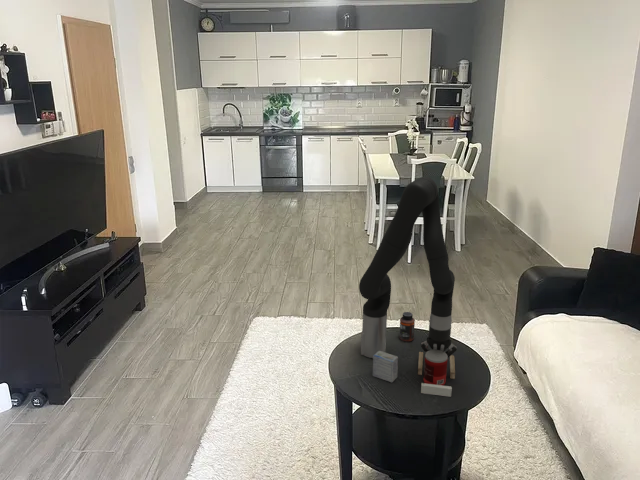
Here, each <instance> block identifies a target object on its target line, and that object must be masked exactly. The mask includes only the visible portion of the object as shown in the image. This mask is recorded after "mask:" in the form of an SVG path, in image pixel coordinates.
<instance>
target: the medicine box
mask: <svg viewBox="0 0 640 480" xmlns="http://www.w3.org/2000/svg"><path fill="white" fill-rule="evenodd" d="M398 366H399V357H398V355H394V354H391V353H388V352H386V351H385V352H382V351H378V352H377V353H376V354H375V355H374V356H373V358H372V377H375V378H378V379H380V380H383V381H386V382H390V383H393V382H394V381H395V380H396V379H398V369H399V367H398Z"/></svg>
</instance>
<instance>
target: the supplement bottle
mask: <svg viewBox="0 0 640 480" xmlns="http://www.w3.org/2000/svg"><path fill="white" fill-rule="evenodd" d="M415 323H416V321H415V318H414V317H413V313H412V312H410V311H404V312H403V313H402V317H400V320H399V334H398V335H399V339H400V340H401V341H403V342H412V341H413V340H414V338H415V325H416V324H415Z"/></svg>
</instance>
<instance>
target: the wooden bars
mask: <svg viewBox="0 0 640 480" xmlns="http://www.w3.org/2000/svg"><path fill="white" fill-rule="evenodd" d="M423 363H424V351H422V352H421V351H419V352H418V364H417V365H418V366H417V375H419V376H422V375H423V367H424V365H423ZM449 378H450V379H452V380H455V379H456V365H455V355H453V354H452V355H451V356H450V357H449Z"/></svg>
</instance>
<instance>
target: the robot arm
mask: <svg viewBox="0 0 640 480" xmlns="http://www.w3.org/2000/svg"><path fill="white" fill-rule="evenodd" d="M402 191H403V192H402V193H401V197H400V201H399V203H398V207H397V209H396V211H395V214H394V216H393V218H392V219H391V221H390V223H389V225H388V228H387V229H386V231H385V233H384V235H383V236H382V239H381V241H380V244H379V246H378V247H377V250H376V252H375V254H374V256H373V258H372V260H371V262H370V264H369V266H368V268H367V269H366V271H365V272H364V274H363V275H362V276H361V279H360V280H359V284H358V290H359V294H360V295H361V297H362V298H364V299H366V302H364V303H363V306H362V328H361V329H362V331H361V335H360V336H361V339H360V355H361V356H365V357H367V358H370V359H373V356H374V355H375V354H376V353H377V352H378V351H382V352H385V353H386V347H387V345H386V343H387V322H388V321H387V320H388V310H389V308H390V304H391V295H392V294H391V293H392V282H391V278H390V277H389V275H388V273H389V272H390V271H391V270H392V269H393V268H394V267H395V266H396V265H397V264H398V263H399V262H400V260H401V259H402V258H403V257H404V256H405V253H407V249H408V248H409V246H410V244H411V242H412V238H413V232H414V231H413V230H414V225H415V223H416V221H417V219H418V218H419V217H420V215H421V214H422V221H423V226H422V227H423V233H422V240H423V248H424V252H425V256H426V260H427V263H428V268H429V277H430V282H431V285H432V288H433V295H432V299H431V307H430V315H429V321H428V322H429V324H428V336H427V338H426V340H424V341H421V342H420V347H421V349H422V350H423V352H424V353H425V354H426V352H427V351H429V350H435V351H437V350H440V351H443V352H445V353H446V354H447V356H448V359H450V356H451V355H453V354H454V353H455V352H457V345H456V344H454V343H452V339H451V333H452V332H451V331H452V324H453V319H452V317H453V316H452V314H453V296H454V289H455V288H454V287H455V282H456V281H455V278H456V277H455V273H454V272H453V271H452V270H451V269H450V266H449V261H450V260H449V253H448V250H447V246H446V241H445V238H444V233H443V227H442V219H441V210H440V199H439V190H438V186H437V183H436V182H435V181H434V179H432V178H431V177H428V176H421V177H418V178H417V179H414V180H413V181H411V182H410V183H408V184H407V185H406V186H405V187H404V190H402ZM429 347H430V348H429Z"/></svg>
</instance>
